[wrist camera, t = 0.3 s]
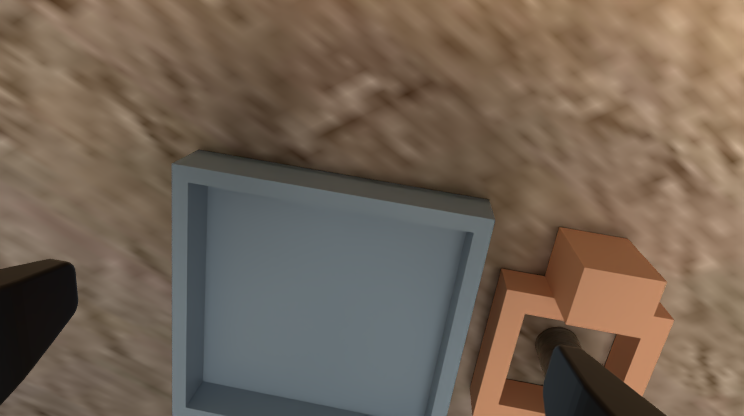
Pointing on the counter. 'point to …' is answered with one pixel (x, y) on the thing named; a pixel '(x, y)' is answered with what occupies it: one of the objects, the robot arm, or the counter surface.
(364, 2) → the counter surface
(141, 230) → the counter surface
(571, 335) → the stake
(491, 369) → the tan rectangular frame
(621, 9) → the counter surface
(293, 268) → the tray
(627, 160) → the counter surface
